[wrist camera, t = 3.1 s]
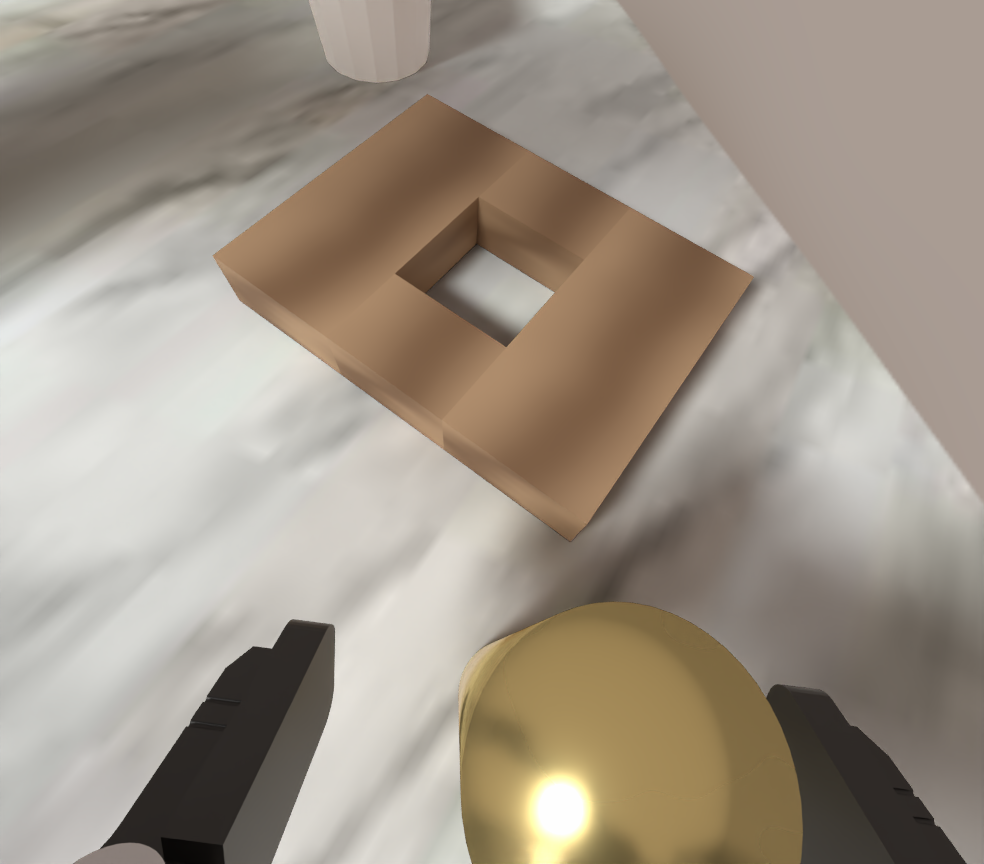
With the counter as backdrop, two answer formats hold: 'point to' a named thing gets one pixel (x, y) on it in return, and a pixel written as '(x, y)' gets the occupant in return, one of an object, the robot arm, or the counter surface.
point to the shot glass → (374, 37)
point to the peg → (622, 747)
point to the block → (463, 347)
